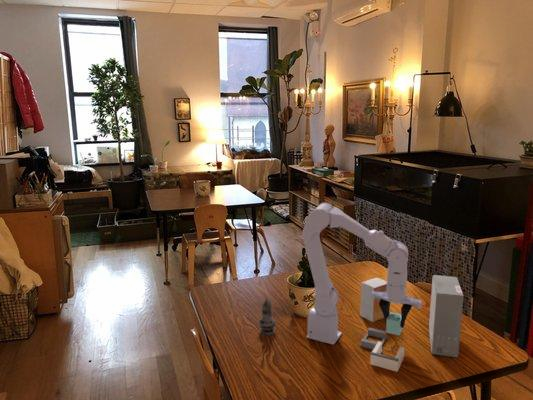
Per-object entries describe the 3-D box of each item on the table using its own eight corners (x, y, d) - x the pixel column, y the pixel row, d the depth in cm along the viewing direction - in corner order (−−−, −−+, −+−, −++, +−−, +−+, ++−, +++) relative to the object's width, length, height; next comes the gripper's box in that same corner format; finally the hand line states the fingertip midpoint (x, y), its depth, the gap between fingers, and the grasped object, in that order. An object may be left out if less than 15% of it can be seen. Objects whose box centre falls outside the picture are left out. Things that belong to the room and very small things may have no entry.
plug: (399, 335, 129) (400, 319, 127) (386, 332, 130) (386, 316, 129) (403, 328, 133) (403, 312, 132) (390, 325, 135) (390, 309, 134)
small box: (373, 322, 148) (374, 288, 146) (359, 315, 154) (360, 282, 151) (388, 316, 153) (390, 282, 150) (375, 309, 158) (376, 276, 155)
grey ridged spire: (278, 328, 146) (278, 296, 143) (271, 337, 140) (271, 303, 138) (263, 325, 148) (262, 293, 145) (255, 333, 143) (254, 300, 140)
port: (377, 350, 131) (378, 339, 131) (403, 357, 128) (404, 345, 127) (370, 364, 124) (370, 352, 124) (397, 371, 121) (398, 359, 120)
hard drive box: (458, 358, 126) (464, 296, 122) (431, 355, 128) (435, 293, 124) (452, 332, 141) (457, 276, 137) (428, 329, 143) (431, 274, 139)
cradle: (379, 351, 131) (379, 345, 131) (359, 346, 134) (359, 340, 134) (386, 337, 139) (387, 331, 138) (368, 332, 142) (368, 327, 141)
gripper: (424, 282, 128) (421, 324, 131) (376, 274, 135) (375, 313, 138) (420, 291, 122) (417, 334, 125) (370, 282, 129) (368, 323, 132)
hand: (394, 324), depth 131 cm, fingers closed on plug, 4 cm apart
